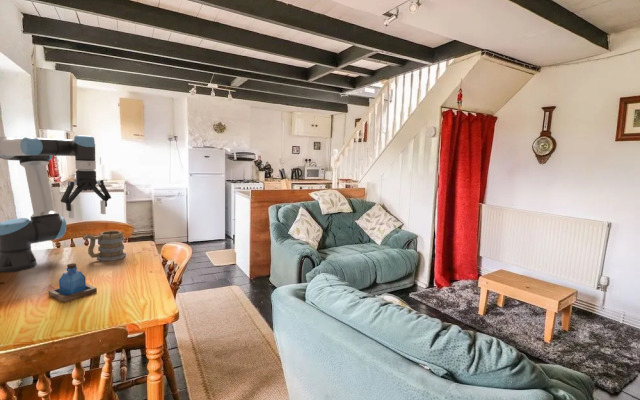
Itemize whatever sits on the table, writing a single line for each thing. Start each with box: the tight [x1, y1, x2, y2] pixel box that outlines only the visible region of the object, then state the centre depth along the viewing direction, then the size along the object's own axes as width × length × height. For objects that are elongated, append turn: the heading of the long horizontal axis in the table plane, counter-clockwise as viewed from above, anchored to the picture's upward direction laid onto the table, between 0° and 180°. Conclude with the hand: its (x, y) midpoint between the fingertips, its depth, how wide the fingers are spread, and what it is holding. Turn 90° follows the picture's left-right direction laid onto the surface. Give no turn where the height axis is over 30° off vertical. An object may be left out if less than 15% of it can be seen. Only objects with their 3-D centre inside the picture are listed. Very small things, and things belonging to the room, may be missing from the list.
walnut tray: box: [48, 283, 98, 304], centre depth 137 cm, size 12×12×2 cm
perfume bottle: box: [58, 262, 87, 296], centre depth 136 cm, size 6×6×12 cm
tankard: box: [82, 230, 127, 262], centre depth 180 cm, size 20×13×15 cm, turn 144°
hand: (87, 215), depth 154 cm, fingers open, 13 cm apart
